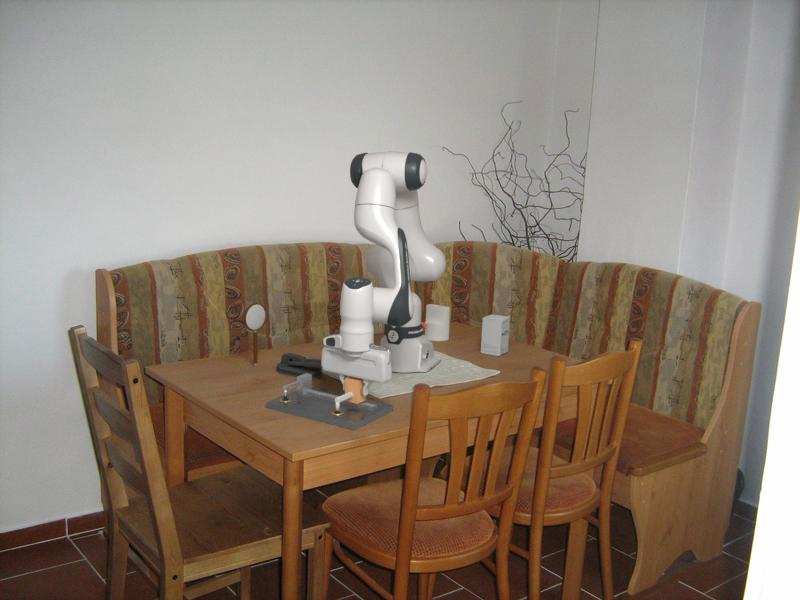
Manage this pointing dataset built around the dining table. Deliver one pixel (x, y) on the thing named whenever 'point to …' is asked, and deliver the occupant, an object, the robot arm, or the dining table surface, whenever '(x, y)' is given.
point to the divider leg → (351, 392)
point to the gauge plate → (326, 405)
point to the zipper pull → (299, 366)
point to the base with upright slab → (437, 322)
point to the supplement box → (495, 335)
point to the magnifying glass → (255, 323)
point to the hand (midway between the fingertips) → (355, 392)
